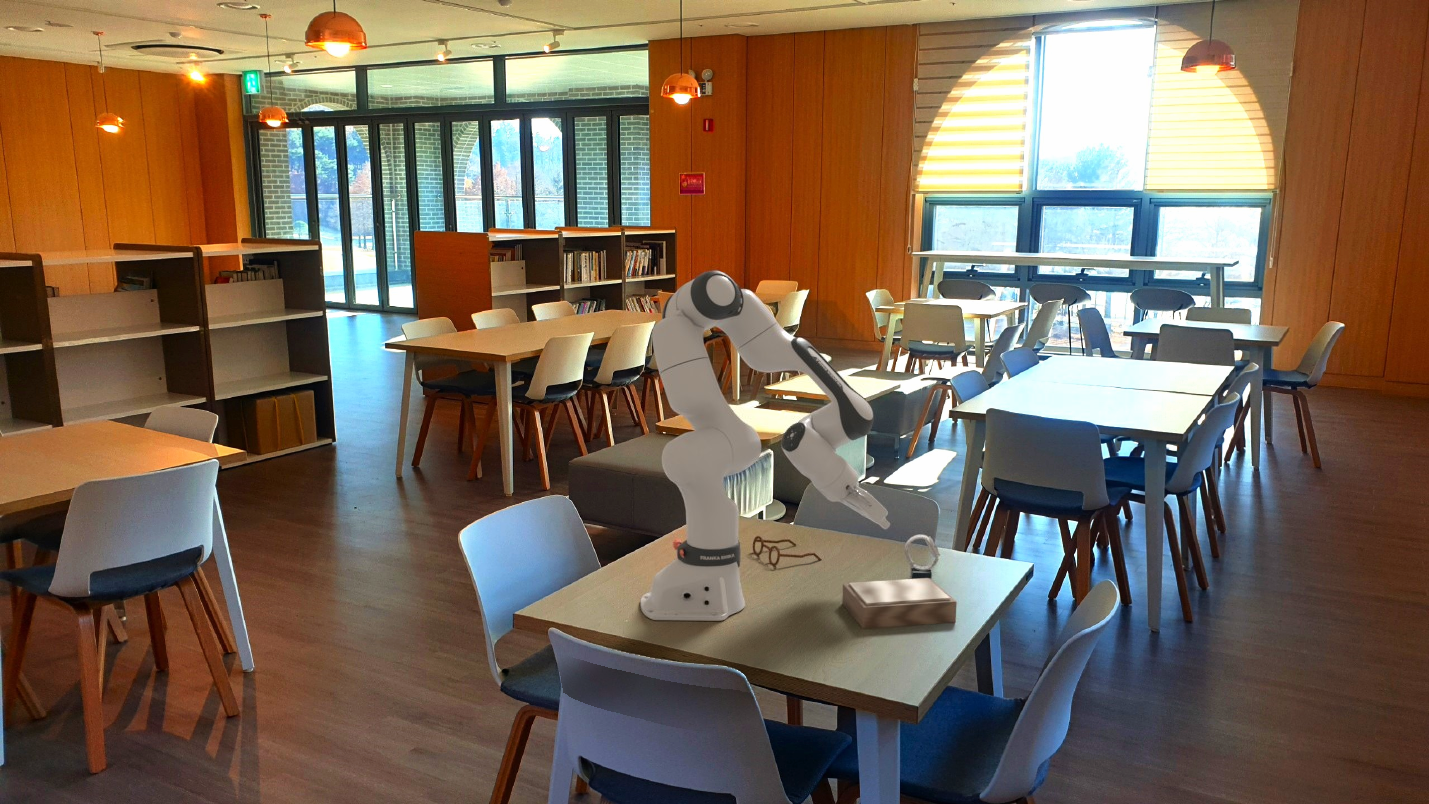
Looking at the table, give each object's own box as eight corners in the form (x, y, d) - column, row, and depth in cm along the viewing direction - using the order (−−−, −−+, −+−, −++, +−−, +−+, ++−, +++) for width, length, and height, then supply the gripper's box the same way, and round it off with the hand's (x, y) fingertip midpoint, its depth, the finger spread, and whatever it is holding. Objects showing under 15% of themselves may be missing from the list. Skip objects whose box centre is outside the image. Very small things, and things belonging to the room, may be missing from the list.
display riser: (863, 628, 207) (863, 605, 206) (842, 603, 220) (842, 581, 219) (955, 622, 210) (956, 599, 209) (929, 597, 224) (930, 576, 223)
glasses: (751, 553, 255) (751, 534, 254) (796, 546, 260) (797, 528, 259) (776, 569, 243) (776, 549, 242) (823, 562, 248) (823, 542, 248)
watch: (939, 586, 231) (942, 540, 229) (903, 585, 232) (905, 538, 230) (937, 578, 236) (939, 533, 234) (902, 576, 237) (904, 531, 235)
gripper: (869, 482, 214) (908, 522, 219) (828, 461, 233) (866, 498, 238) (849, 504, 213) (889, 544, 218) (810, 481, 232) (848, 519, 237)
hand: (877, 520), depth 228 cm, fingers open, 8 cm apart
